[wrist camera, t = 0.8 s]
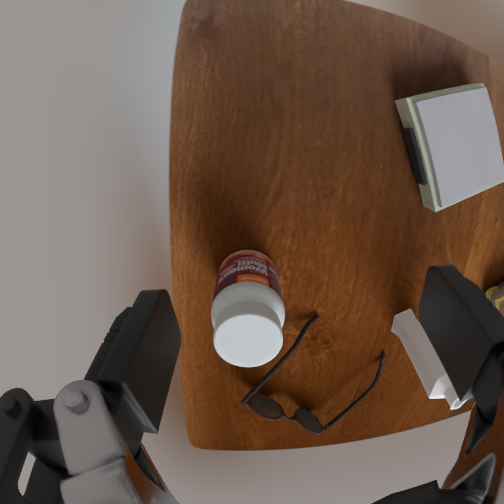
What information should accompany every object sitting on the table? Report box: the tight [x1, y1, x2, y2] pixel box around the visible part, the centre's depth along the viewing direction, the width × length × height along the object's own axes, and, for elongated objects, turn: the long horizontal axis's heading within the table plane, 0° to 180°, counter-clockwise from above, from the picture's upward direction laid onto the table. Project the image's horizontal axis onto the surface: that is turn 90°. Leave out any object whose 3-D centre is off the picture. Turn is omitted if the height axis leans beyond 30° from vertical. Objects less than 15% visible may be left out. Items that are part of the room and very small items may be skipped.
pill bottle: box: [211, 250, 285, 367], centre depth 27 cm, size 6×6×11 cm
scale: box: [395, 83, 504, 212], centre depth 25 cm, size 12×12×3 cm
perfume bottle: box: [391, 309, 467, 409], centre depth 28 cm, size 5×4×15 cm
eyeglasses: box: [241, 315, 386, 435], centre depth 35 cm, size 15×15×5 cm
